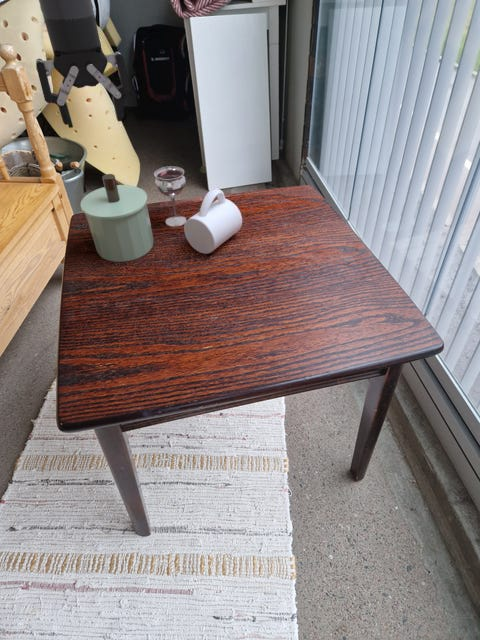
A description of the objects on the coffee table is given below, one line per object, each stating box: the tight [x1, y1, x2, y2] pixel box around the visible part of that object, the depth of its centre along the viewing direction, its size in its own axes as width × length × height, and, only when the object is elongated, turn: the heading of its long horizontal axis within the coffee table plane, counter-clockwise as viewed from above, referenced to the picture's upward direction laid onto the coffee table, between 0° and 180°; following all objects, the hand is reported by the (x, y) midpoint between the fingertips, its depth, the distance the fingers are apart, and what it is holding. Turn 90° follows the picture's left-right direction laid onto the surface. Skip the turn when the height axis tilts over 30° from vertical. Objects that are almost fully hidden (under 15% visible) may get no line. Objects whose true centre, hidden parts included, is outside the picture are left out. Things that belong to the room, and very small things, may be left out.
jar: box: [85, 202, 154, 263], centre depth 90 cm, size 12×12×10 cm
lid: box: [80, 173, 148, 219], centre depth 85 cm, size 13×13×6 cm
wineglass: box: [153, 165, 187, 227], centre depth 97 cm, size 7×7×12 cm
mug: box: [183, 188, 243, 255], centre depth 90 cm, size 8×10×12 cm
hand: (95, 123), depth 76 cm, fingers open, 8 cm apart
